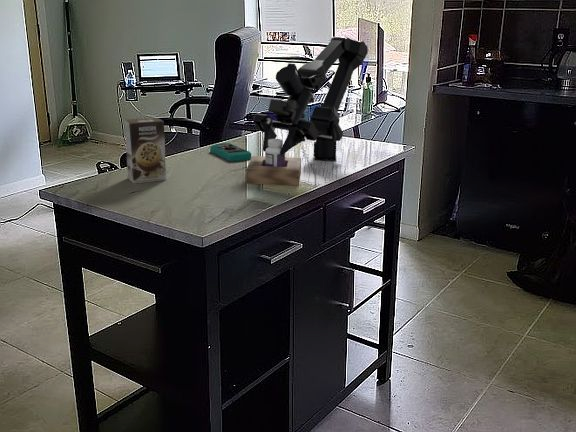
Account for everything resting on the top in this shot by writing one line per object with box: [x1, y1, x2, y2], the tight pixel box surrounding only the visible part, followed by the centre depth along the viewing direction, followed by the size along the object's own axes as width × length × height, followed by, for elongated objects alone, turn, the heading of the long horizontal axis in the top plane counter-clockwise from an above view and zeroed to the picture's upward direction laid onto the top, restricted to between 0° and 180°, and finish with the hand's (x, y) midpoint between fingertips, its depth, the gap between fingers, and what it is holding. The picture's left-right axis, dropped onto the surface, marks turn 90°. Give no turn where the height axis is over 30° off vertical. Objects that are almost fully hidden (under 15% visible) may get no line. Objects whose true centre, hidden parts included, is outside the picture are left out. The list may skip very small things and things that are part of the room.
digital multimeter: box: [209, 142, 252, 162], centre depth 198 cm, size 7×15×3 cm, turn 32°
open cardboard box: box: [245, 155, 302, 186], centre depth 175 cm, size 14×14×4 cm
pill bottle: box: [264, 138, 286, 167], centre depth 174 cm, size 5×5×10 cm
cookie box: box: [124, 117, 167, 184], centre depth 169 cm, size 9×6×16 cm
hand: (272, 152), depth 173 cm, fingers closed on pill bottle, 5 cm apart
